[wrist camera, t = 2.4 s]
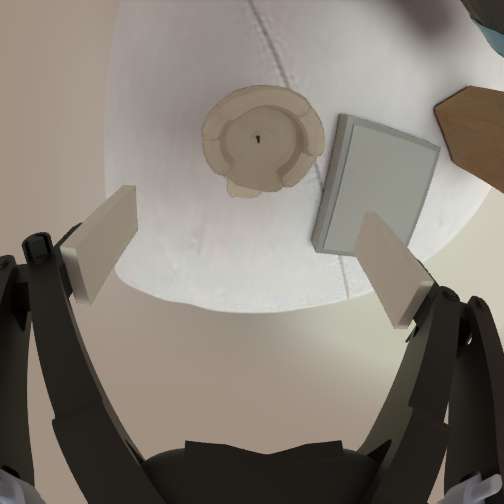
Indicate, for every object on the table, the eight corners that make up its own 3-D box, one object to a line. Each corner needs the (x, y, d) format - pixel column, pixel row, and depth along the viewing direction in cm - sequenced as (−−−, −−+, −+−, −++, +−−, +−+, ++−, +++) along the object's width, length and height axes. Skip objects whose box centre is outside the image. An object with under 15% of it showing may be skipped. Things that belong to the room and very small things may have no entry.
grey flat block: (340, 113, 29) (349, 116, 26) (428, 142, 30) (441, 147, 27) (311, 240, 39) (315, 253, 36) (393, 251, 40) (401, 262, 37)
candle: (215, 195, 35) (185, 303, 18) (229, 87, 28) (201, 75, 11) (270, 202, 36) (290, 315, 19) (291, 96, 28) (350, 102, 11)
